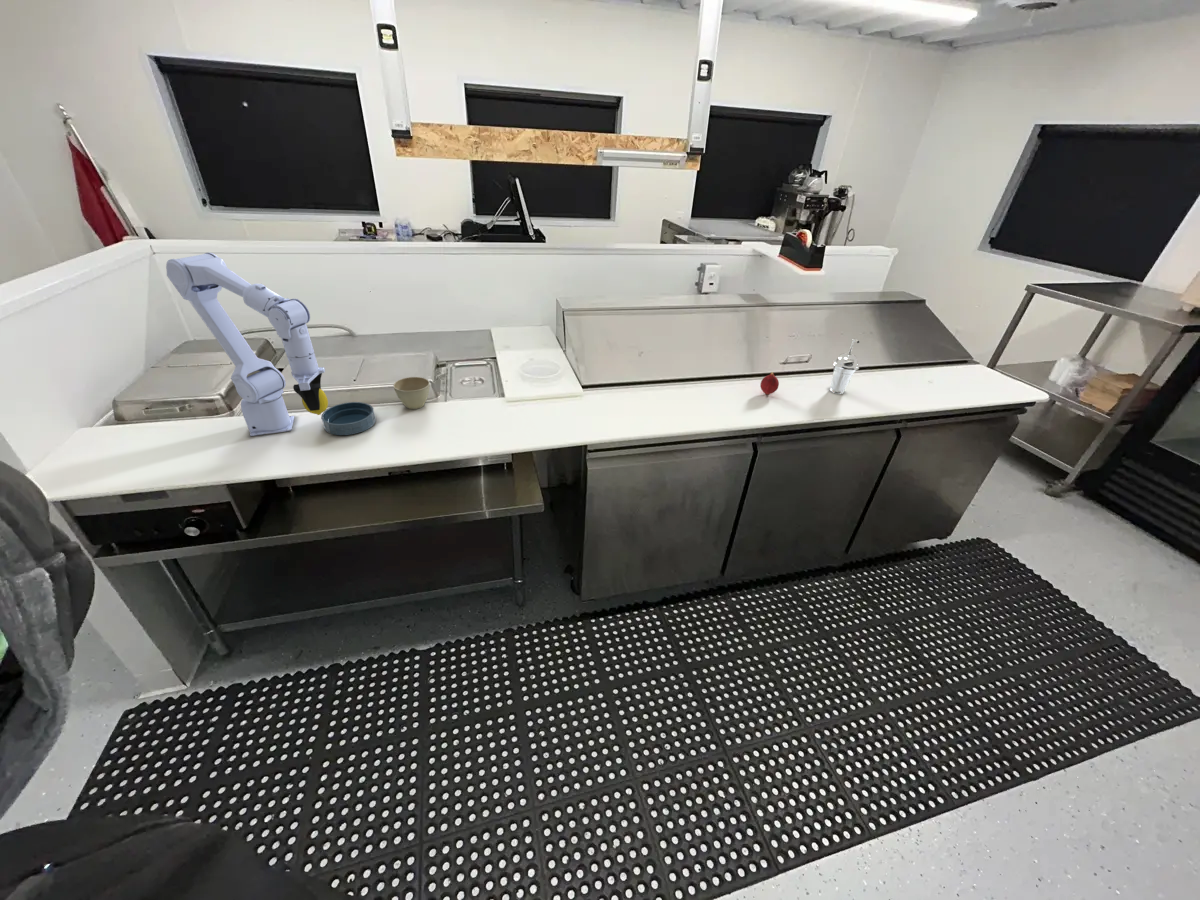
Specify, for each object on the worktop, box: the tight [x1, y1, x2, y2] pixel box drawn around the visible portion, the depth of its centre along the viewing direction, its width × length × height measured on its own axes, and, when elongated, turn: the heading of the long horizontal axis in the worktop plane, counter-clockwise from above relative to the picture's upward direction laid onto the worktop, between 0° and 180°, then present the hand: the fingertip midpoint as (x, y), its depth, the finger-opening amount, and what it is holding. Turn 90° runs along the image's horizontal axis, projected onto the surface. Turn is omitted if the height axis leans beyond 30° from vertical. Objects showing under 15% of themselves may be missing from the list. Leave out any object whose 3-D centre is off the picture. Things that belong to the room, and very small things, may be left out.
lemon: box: [301, 388, 329, 416], centre depth 122 cm, size 6×6×8 cm
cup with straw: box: [829, 338, 860, 395], centre depth 164 cm, size 8×9×20 cm
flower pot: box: [392, 376, 431, 410], centre depth 144 cm, size 10×10×7 cm
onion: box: [759, 371, 780, 396], centre depth 162 cm, size 6×6×8 cm
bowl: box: [320, 401, 377, 436], centre depth 134 cm, size 13×13×4 cm
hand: (315, 404), depth 122 cm, fingers closed on lemon, 5 cm apart
